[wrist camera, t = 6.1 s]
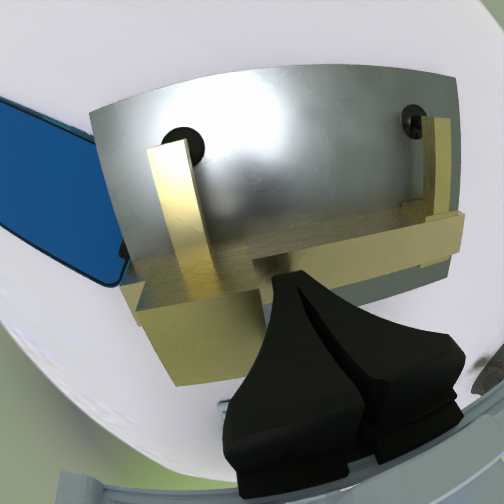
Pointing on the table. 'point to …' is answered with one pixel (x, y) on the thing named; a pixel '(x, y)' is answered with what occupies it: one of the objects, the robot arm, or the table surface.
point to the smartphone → (58, 195)
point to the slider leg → (198, 287)
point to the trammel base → (298, 174)
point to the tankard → (490, 374)
